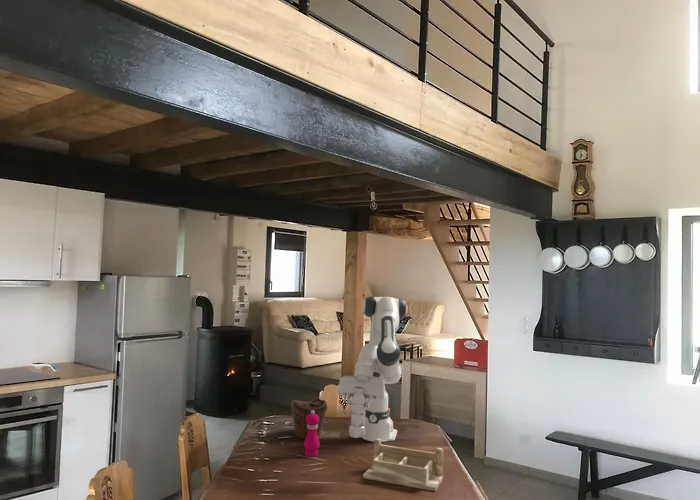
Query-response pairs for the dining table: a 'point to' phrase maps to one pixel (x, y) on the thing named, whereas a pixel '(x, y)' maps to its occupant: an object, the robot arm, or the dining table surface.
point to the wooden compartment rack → (406, 466)
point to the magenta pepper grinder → (312, 435)
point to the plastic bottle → (357, 413)
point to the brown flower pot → (303, 409)
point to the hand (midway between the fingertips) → (358, 405)
